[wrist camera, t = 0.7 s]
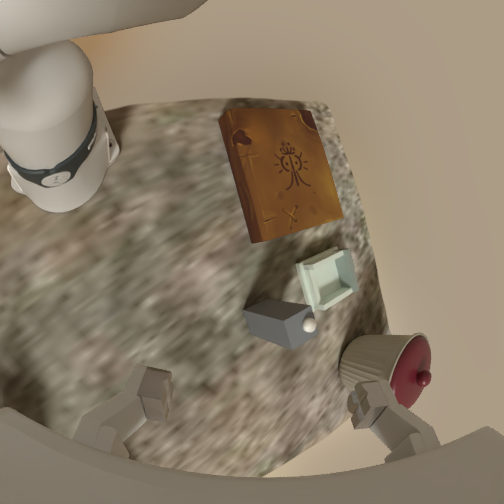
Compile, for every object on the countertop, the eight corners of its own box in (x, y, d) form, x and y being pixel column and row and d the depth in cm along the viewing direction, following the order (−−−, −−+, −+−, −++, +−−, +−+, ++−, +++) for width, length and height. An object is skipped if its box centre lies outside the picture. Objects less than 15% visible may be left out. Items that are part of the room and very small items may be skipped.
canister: (368, 310, 62) (445, 317, 43) (380, 365, 64) (446, 380, 45) (318, 353, 53) (403, 377, 35) (336, 409, 56) (407, 438, 37)
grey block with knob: (242, 310, 46) (287, 321, 35) (266, 298, 48) (314, 305, 37) (250, 333, 46) (295, 351, 35) (273, 322, 49) (322, 334, 37)
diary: (215, 123, 46) (228, 107, 41) (293, 121, 55) (310, 110, 50) (249, 244, 48) (266, 240, 43) (324, 222, 57) (344, 217, 51)
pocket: (295, 263, 52) (312, 263, 47) (333, 246, 57) (351, 244, 52) (308, 312, 52) (326, 315, 48) (344, 290, 58) (361, 291, 53)
